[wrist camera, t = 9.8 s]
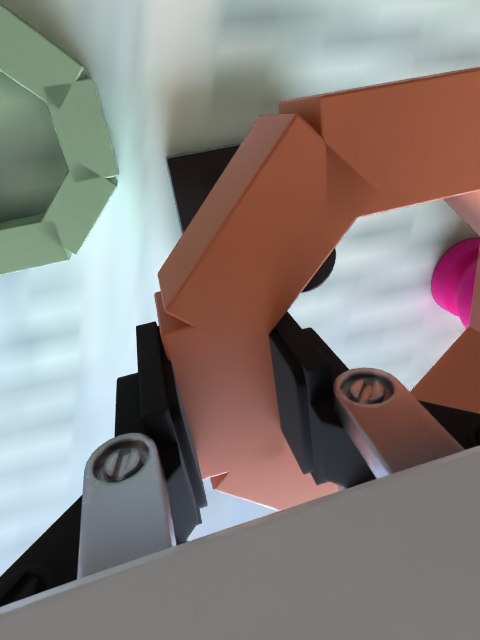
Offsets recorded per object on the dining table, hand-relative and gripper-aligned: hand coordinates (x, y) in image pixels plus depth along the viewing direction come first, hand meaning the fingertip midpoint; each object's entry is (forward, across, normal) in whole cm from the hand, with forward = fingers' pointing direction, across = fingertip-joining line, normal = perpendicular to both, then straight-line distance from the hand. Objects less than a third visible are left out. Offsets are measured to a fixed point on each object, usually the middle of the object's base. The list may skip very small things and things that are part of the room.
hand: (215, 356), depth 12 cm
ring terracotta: (0, -5, 0) cm, 5 cm away
